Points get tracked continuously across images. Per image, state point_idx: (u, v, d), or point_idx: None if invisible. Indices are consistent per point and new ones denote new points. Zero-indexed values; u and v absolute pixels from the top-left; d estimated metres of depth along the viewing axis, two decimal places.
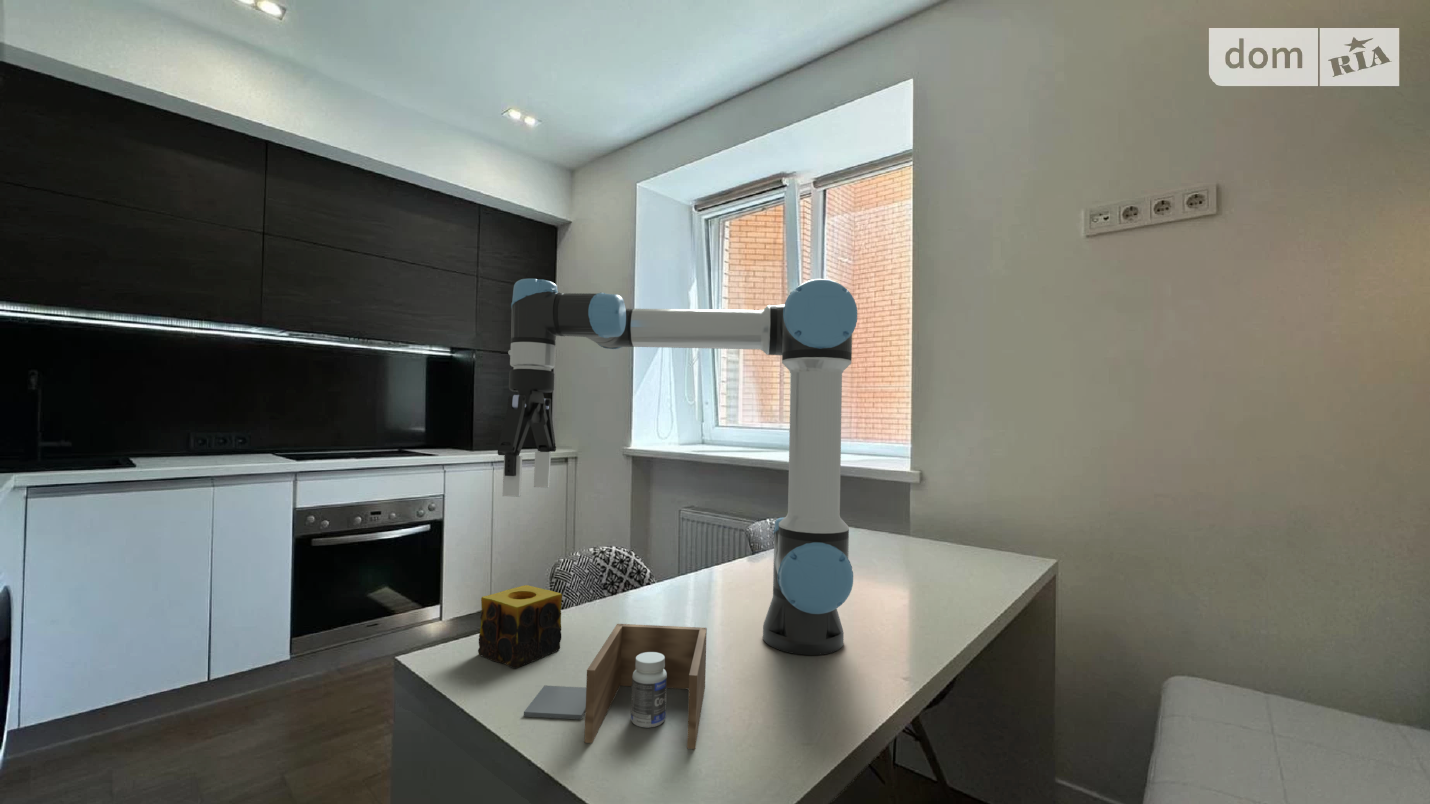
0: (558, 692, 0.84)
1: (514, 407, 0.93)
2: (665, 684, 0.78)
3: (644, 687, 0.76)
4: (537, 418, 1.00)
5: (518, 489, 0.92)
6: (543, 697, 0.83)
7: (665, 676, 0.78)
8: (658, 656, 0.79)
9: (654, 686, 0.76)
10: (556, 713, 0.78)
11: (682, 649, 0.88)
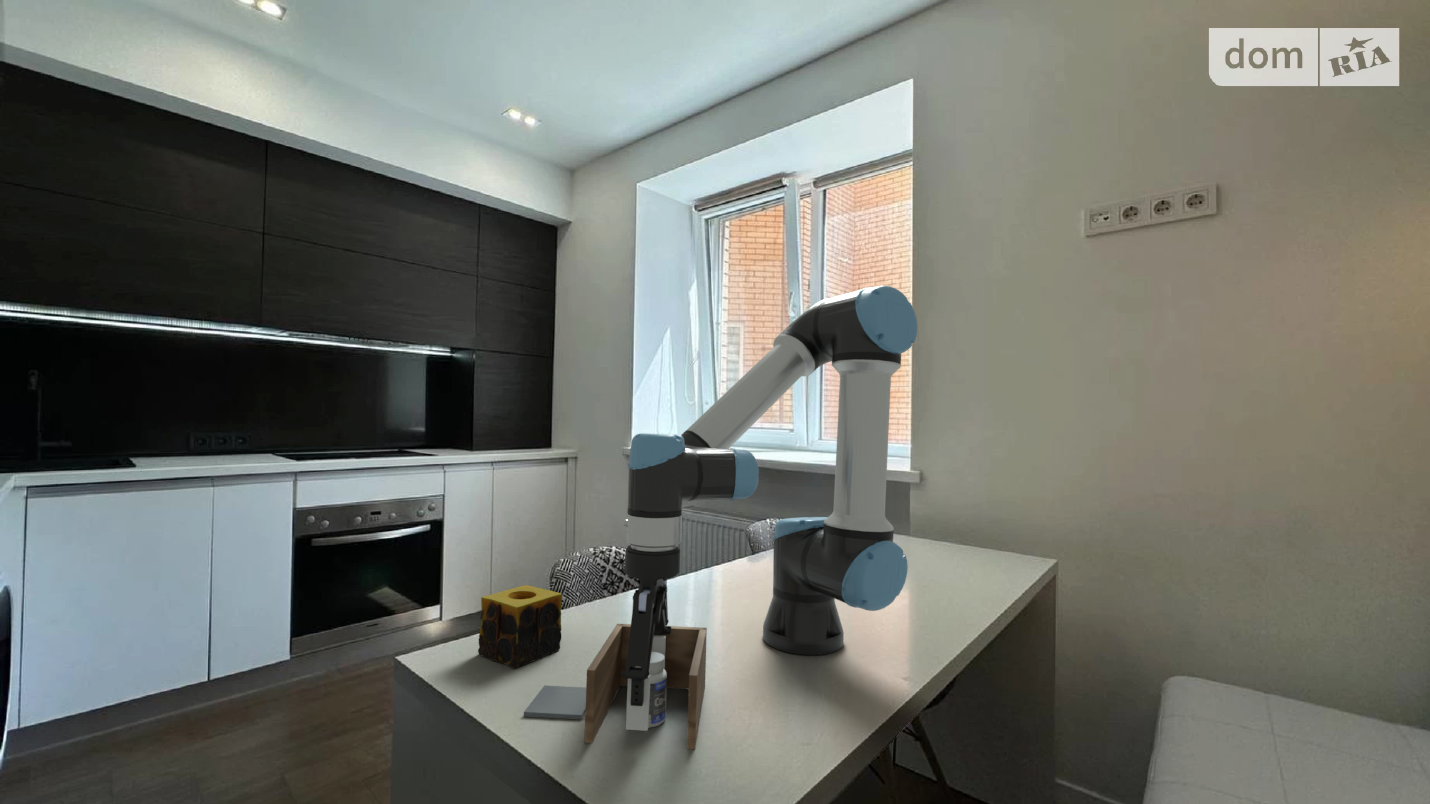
0: (558, 692, 0.84)
1: (640, 610, 0.72)
2: (665, 684, 0.78)
3: None
4: None
5: (646, 720, 0.71)
6: (543, 697, 0.83)
7: (665, 676, 0.78)
8: (658, 656, 0.79)
9: (654, 686, 0.76)
10: (556, 713, 0.78)
11: (682, 649, 0.88)
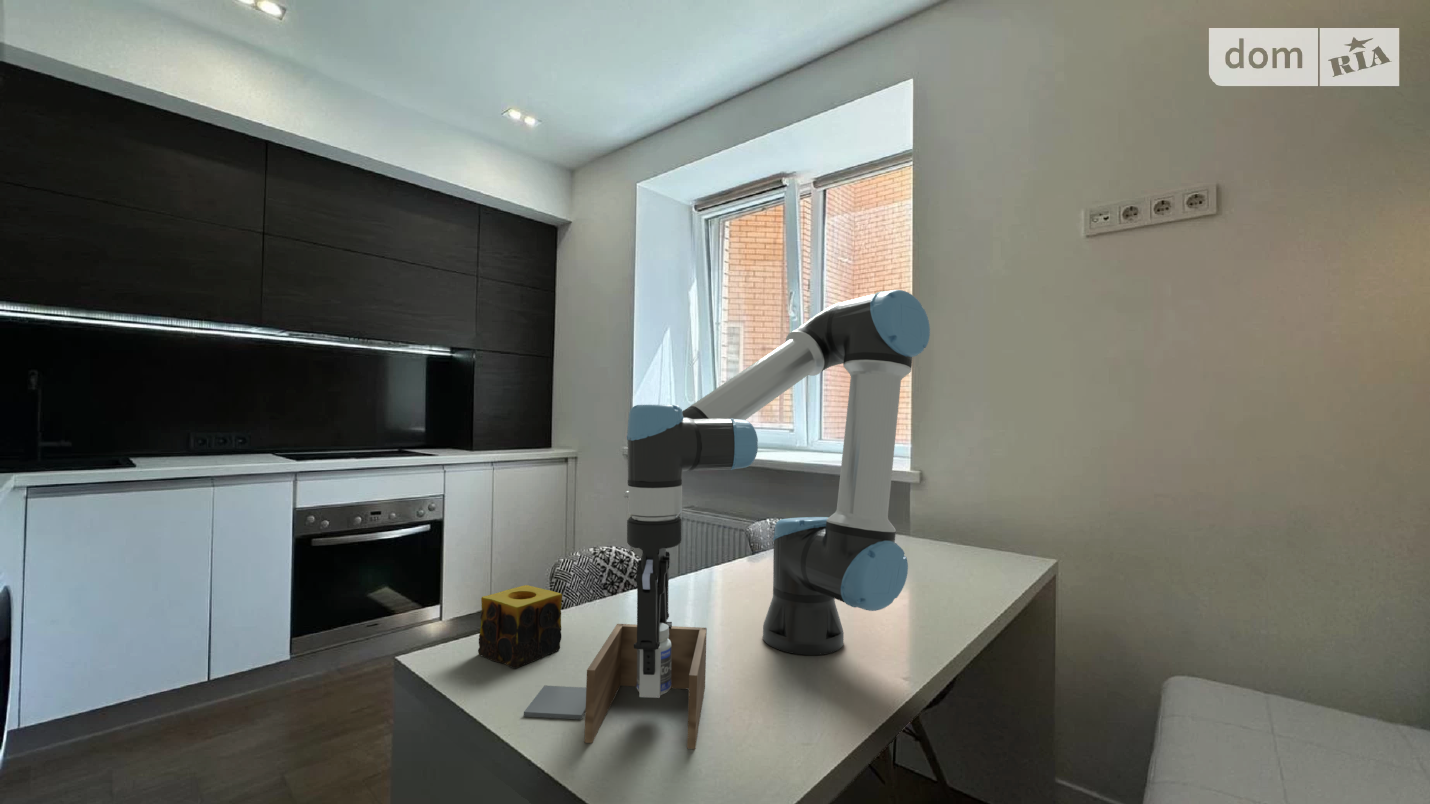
0: (558, 692, 0.84)
1: (645, 588, 0.73)
2: (670, 653, 0.78)
3: None
4: None
5: (658, 688, 0.76)
6: (543, 697, 0.83)
7: (670, 645, 0.78)
8: (662, 625, 0.79)
9: None
10: (556, 713, 0.78)
11: (682, 649, 0.88)
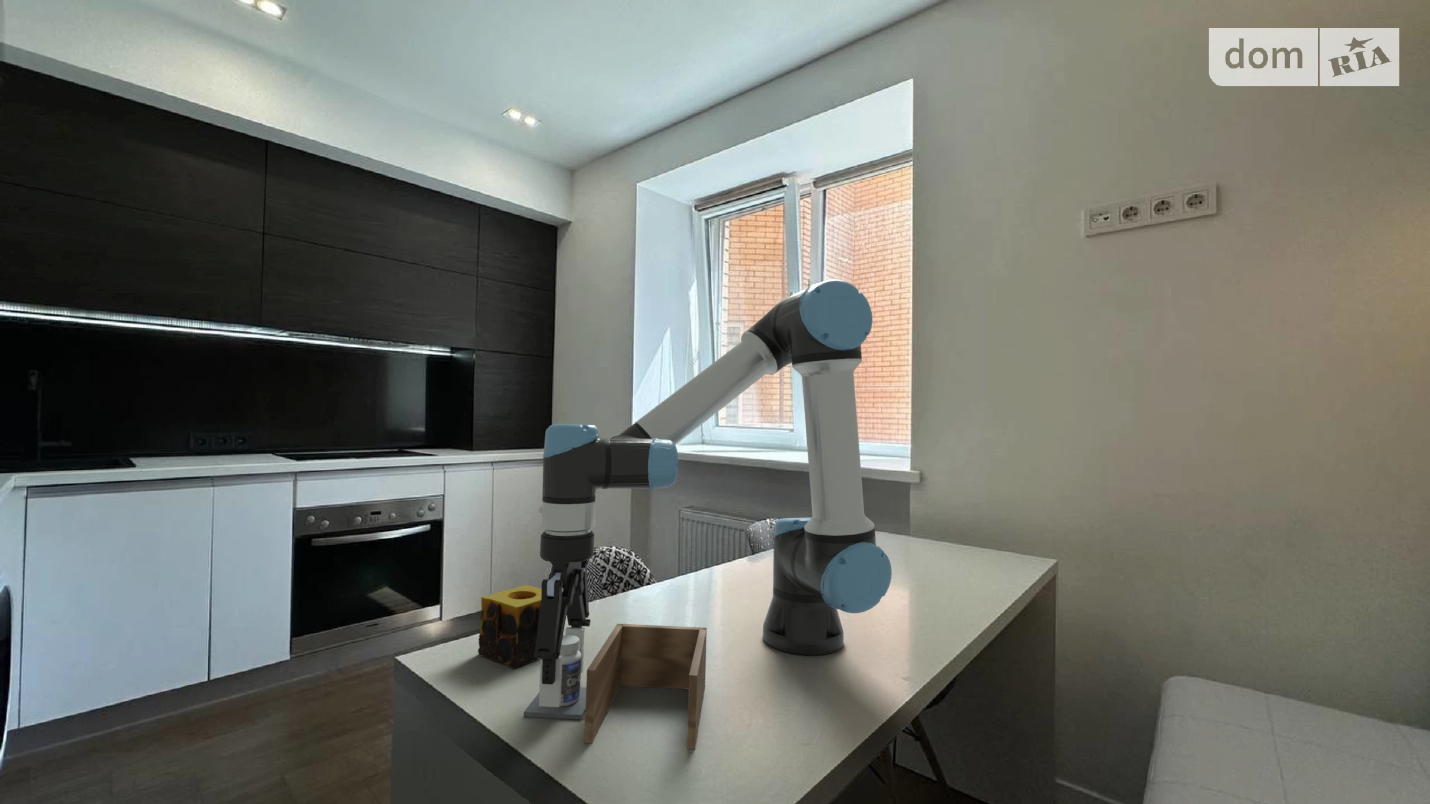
0: None
1: (549, 595, 0.76)
2: (579, 665, 0.82)
3: None
4: (574, 589, 0.83)
5: (558, 698, 0.77)
6: None
7: (579, 658, 0.82)
8: (573, 638, 0.83)
9: (566, 667, 0.80)
10: (556, 713, 0.78)
11: (682, 649, 0.88)
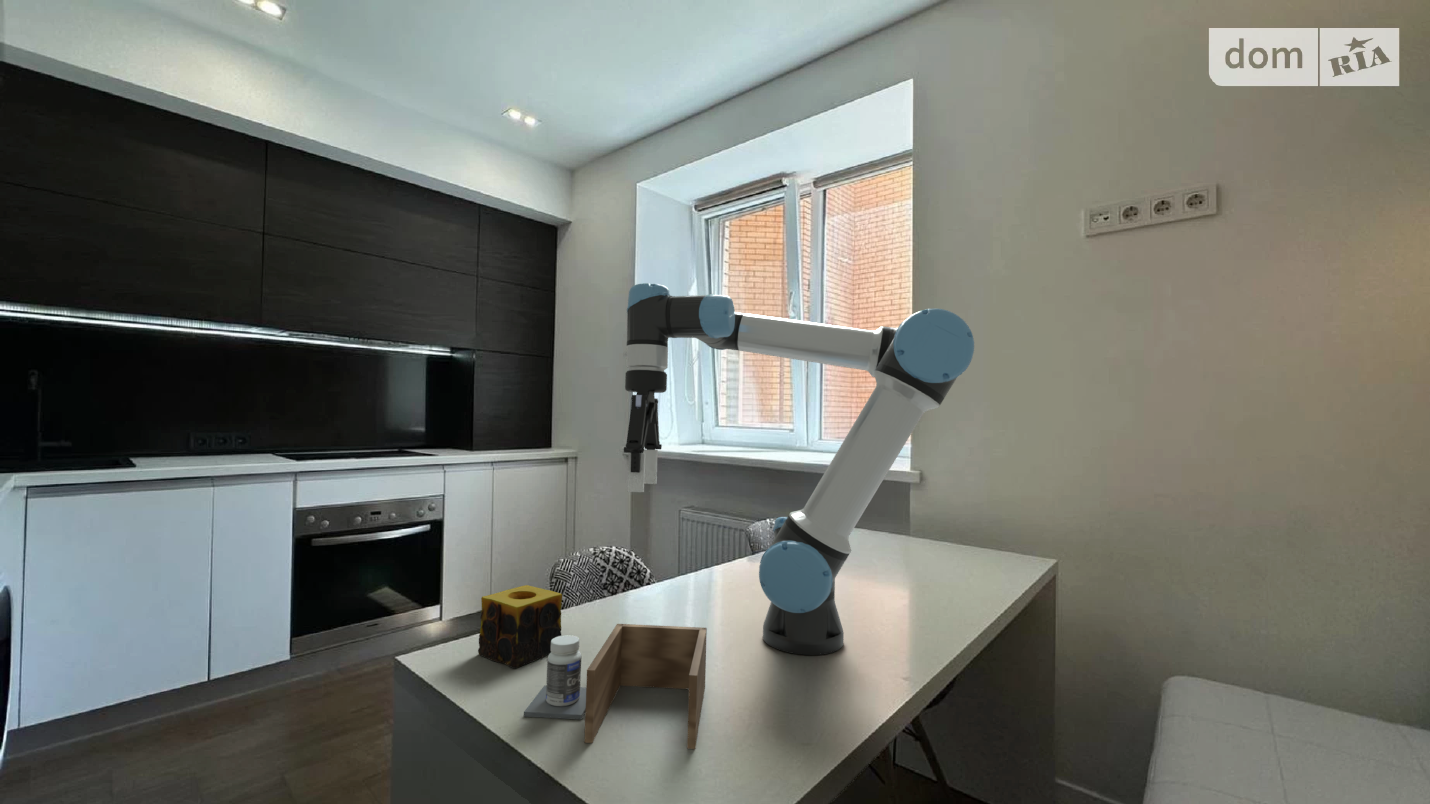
0: None
1: (637, 406, 0.98)
2: (579, 665, 0.82)
3: (556, 668, 0.80)
4: None
5: (642, 485, 0.97)
6: (543, 697, 0.83)
7: (579, 658, 0.82)
8: (573, 638, 0.83)
9: (566, 667, 0.80)
10: (556, 713, 0.78)
11: (682, 649, 0.88)
